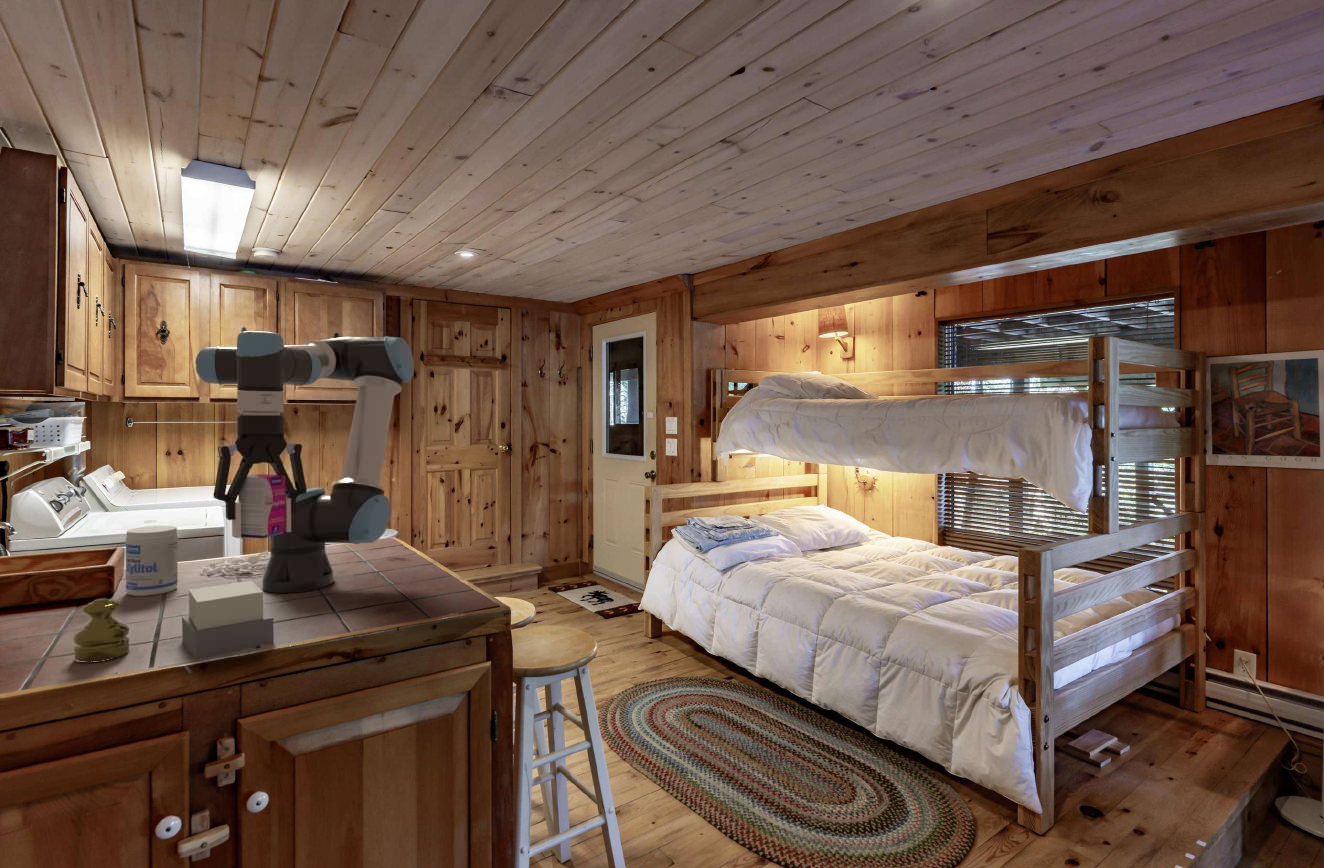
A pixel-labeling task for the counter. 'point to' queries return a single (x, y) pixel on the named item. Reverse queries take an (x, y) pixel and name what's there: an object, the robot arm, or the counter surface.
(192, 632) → the tower base
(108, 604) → the olive coiled snake figurine
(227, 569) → the tangled rod sculpture
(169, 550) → the supplement tub
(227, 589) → the tower top
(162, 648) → the counter surface
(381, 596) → the counter surface
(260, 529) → the supplement box
